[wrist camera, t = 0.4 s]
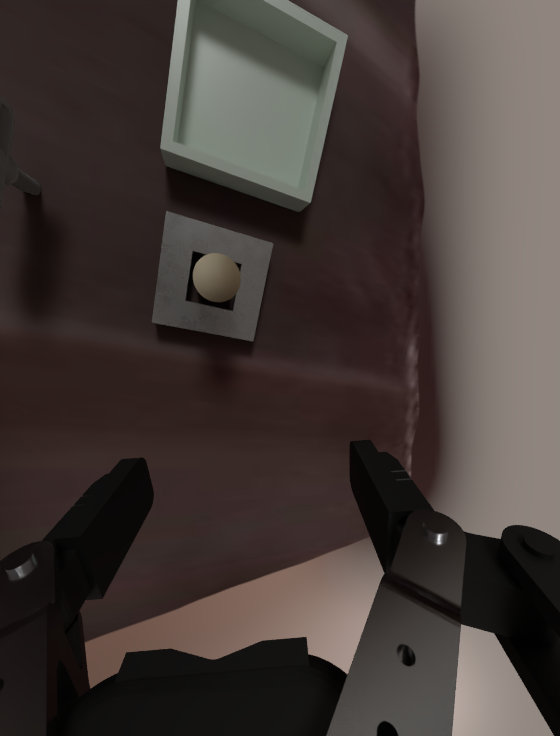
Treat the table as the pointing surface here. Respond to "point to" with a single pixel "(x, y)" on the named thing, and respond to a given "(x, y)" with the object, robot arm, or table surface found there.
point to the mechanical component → (3, 166)
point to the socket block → (176, 267)
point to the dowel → (216, 277)
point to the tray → (251, 96)
